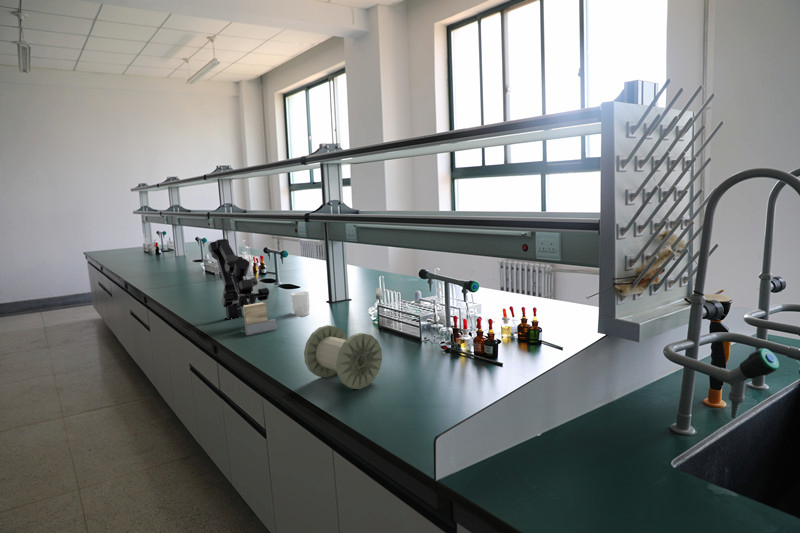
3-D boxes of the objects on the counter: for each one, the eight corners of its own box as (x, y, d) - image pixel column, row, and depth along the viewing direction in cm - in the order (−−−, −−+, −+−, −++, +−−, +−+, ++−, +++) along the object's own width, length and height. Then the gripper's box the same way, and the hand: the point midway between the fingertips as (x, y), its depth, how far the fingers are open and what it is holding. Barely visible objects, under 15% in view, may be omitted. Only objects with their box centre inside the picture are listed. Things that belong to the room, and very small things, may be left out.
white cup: (301, 317, 229) (299, 295, 228) (289, 316, 234) (287, 294, 233) (314, 313, 235) (312, 292, 234) (302, 312, 240) (300, 290, 239)
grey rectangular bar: (245, 334, 203) (244, 324, 203) (275, 328, 210) (274, 318, 209) (247, 335, 201) (246, 325, 200) (277, 329, 208) (276, 319, 207)
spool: (306, 382, 150) (301, 332, 148) (347, 367, 161) (343, 320, 158) (342, 396, 139) (337, 341, 136) (383, 379, 149) (379, 328, 147)
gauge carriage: (241, 330, 209) (238, 306, 207) (265, 326, 214) (262, 302, 212) (244, 332, 205) (241, 308, 204) (268, 327, 211) (265, 303, 209)
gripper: (220, 275, 210) (231, 306, 202) (265, 268, 220) (277, 298, 212) (217, 291, 218) (228, 322, 210) (261, 284, 228) (272, 313, 220)
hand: (252, 313), depth 213 cm, fingers closed
